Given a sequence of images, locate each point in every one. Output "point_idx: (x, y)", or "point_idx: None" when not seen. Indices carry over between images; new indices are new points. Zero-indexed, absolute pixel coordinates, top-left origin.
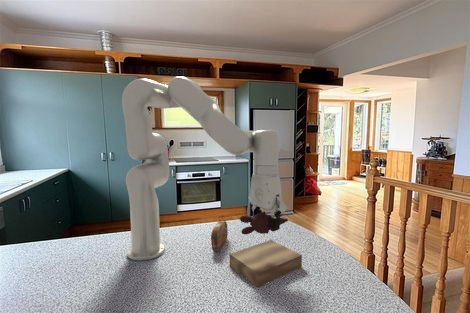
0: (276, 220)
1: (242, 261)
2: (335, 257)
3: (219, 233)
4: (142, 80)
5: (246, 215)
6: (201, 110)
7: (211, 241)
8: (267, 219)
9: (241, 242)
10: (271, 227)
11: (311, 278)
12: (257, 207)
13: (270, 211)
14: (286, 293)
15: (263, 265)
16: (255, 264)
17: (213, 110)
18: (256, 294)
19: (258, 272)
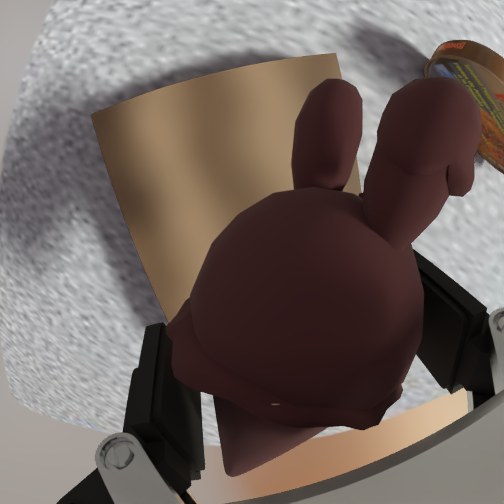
0: (130, 433)
1: (229, 78)
2: (214, 426)
3: (495, 99)
4: None
5: (459, 170)
6: None
7: (459, 40)
8: (194, 383)
9: (453, 205)
10: (149, 345)
11: (117, 323)
12: (489, 380)
13: (173, 501)
14: (55, 204)
15: (148, 167)
16: (172, 131)
17: None
18: (76, 95)
19: (99, 119)
